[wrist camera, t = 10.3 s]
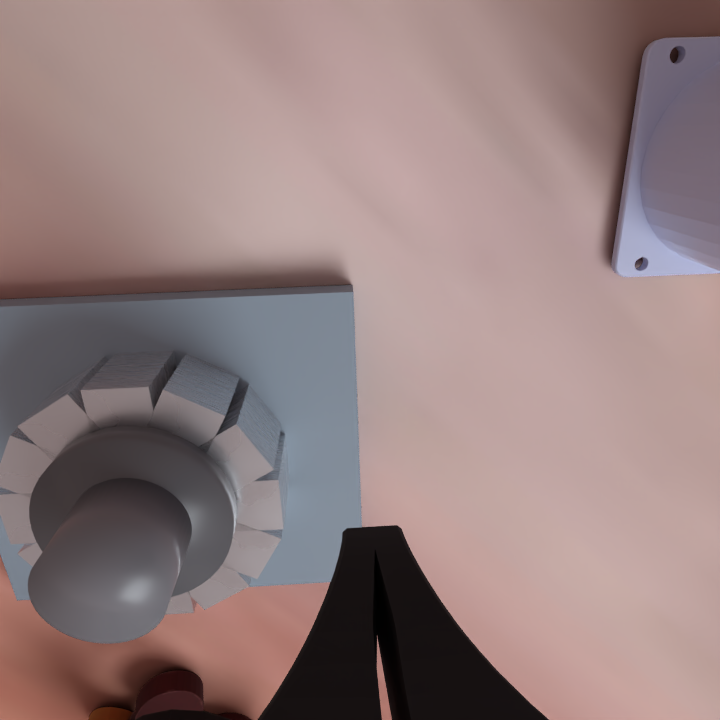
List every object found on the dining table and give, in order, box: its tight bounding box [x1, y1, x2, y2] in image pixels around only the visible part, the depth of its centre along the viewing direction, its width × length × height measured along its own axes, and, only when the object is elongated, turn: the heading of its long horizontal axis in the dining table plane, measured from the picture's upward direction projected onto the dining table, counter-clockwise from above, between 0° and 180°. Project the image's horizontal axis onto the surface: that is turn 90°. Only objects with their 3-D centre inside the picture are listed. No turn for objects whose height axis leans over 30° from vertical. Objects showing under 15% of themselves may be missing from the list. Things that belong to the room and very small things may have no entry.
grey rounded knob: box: [28, 426, 237, 643], centre depth 19 cm, size 7×7×7 cm
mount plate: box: [0, 285, 362, 600], centre depth 23 cm, size 16×14×1 cm
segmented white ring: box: [0, 350, 290, 614], centre depth 21 cm, size 10×10×3 cm
